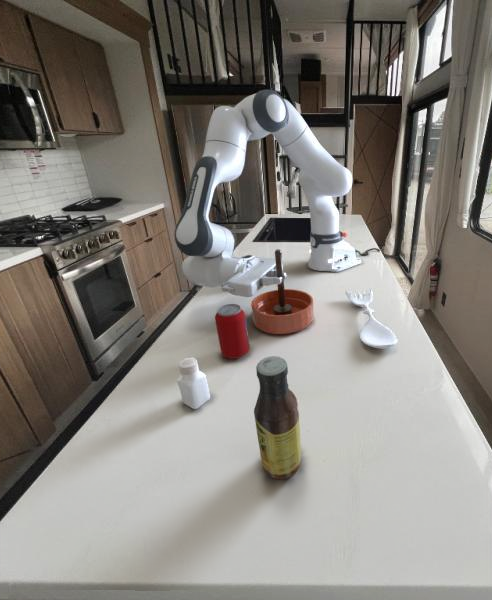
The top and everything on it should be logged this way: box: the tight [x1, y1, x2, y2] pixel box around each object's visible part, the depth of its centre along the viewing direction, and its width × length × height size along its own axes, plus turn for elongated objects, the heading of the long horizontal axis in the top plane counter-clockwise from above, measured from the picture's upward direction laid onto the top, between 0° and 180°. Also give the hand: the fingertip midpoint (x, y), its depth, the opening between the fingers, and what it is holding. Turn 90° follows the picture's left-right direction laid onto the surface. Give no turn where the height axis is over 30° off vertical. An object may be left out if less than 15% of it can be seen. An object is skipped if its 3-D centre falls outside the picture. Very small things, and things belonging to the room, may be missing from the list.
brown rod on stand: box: [273, 248, 292, 315], centre depth 88 cm, size 5×5×19 cm
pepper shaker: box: [177, 356, 211, 410], centre depth 62 cm, size 4×4×10 cm
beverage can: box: [214, 303, 250, 359], centre depth 76 cm, size 7×7×12 cm
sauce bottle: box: [253, 355, 302, 480], centre depth 47 cm, size 6×6×20 cm
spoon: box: [345, 288, 398, 349], centre depth 91 cm, size 9×32×4 cm, turn 5°
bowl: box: [250, 288, 315, 335], centre depth 92 cm, size 17×17×6 cm
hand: (283, 278), depth 87 cm, fingers closed on brown rod on stand, 2 cm apart
